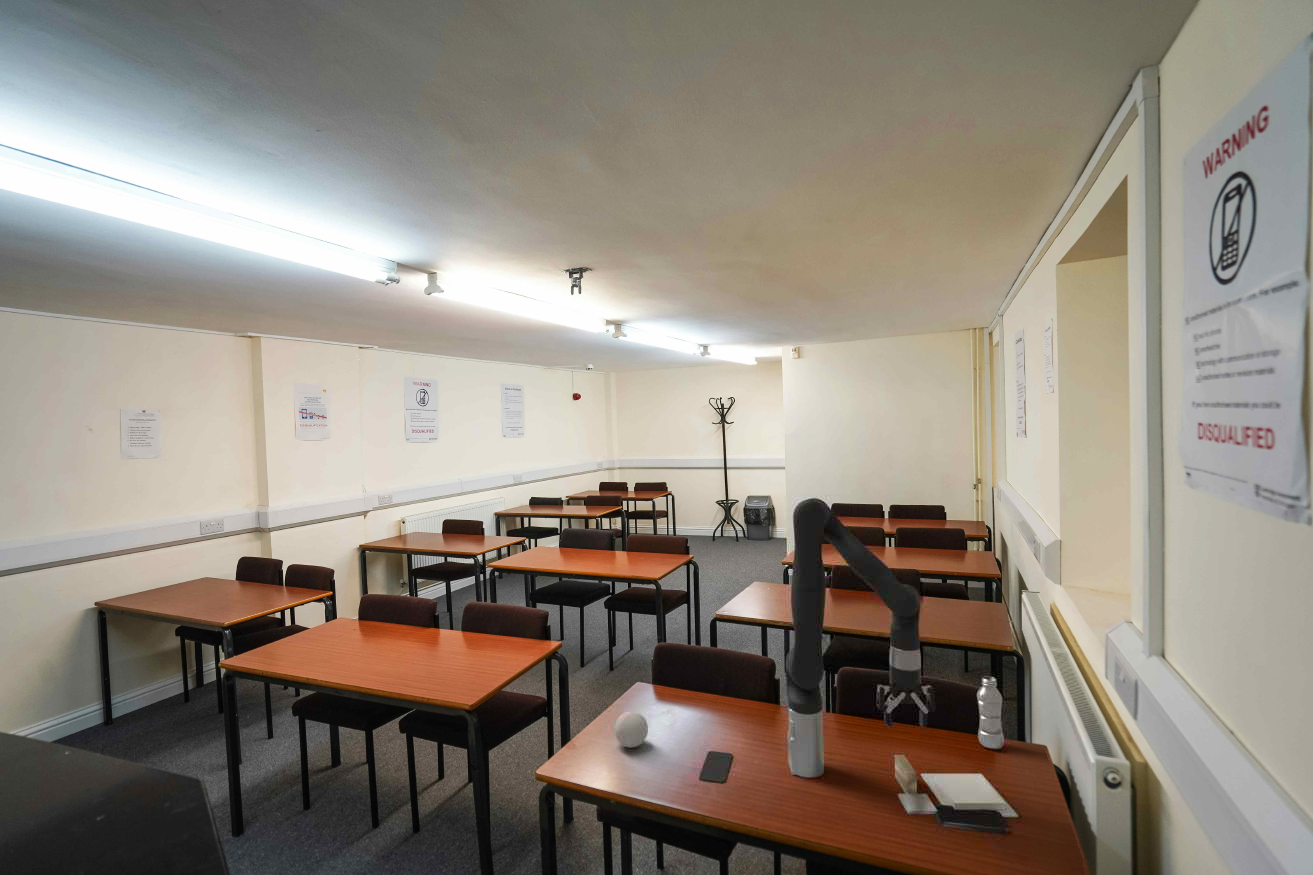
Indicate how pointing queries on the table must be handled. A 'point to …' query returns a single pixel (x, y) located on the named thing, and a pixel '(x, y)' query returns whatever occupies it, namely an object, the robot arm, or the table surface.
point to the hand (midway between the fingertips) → (905, 725)
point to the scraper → (911, 789)
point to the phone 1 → (716, 767)
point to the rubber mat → (944, 801)
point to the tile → (969, 792)
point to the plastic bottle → (990, 714)
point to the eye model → (631, 729)
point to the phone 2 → (971, 819)
